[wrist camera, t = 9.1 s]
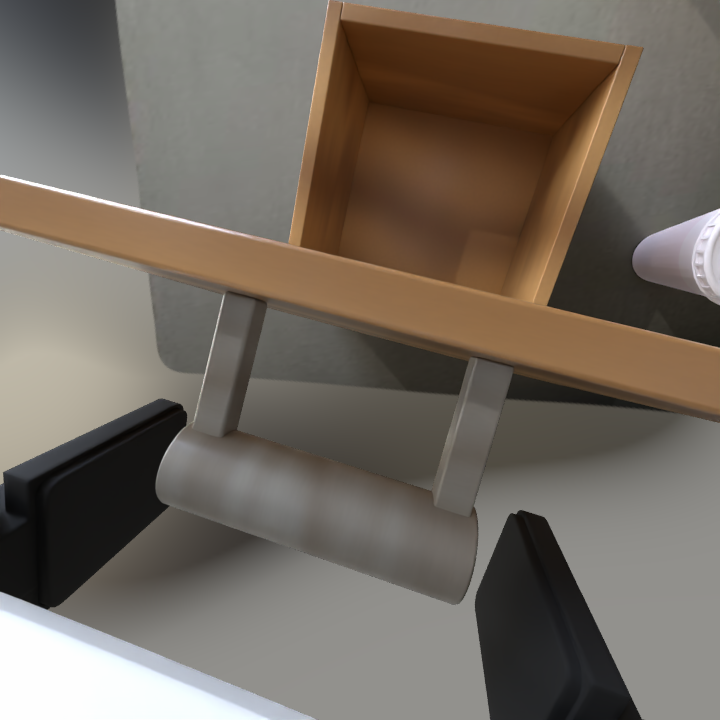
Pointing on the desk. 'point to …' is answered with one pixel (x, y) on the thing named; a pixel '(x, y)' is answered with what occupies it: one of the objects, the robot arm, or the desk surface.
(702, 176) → the desk surface
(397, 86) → the box
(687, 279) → the smoothie
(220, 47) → the desk surface
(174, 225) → the box lid
